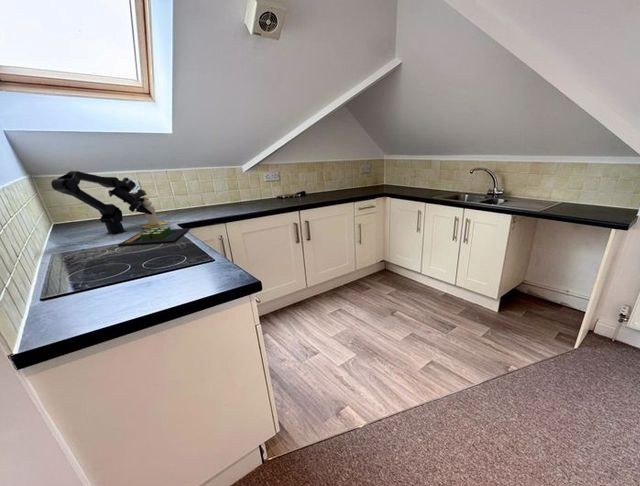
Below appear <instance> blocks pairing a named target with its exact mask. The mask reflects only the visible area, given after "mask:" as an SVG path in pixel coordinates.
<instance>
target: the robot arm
mask: <svg viewBox="0 0 640 486" xmlns="http://www.w3.org/2000/svg"><path fill="white" fill-rule="evenodd" d="M81 181H82V182H87V183H93V184H98V185H100V186H101V187H104V188H107V189H109V190H108V195H109V197H110V198H111V197H113V196H115V197H116V198H118V199H120V200H121V201H122V202H123V203H124V204H125V203H126V204H128V205H129V207H128V210H129V211H131V212H132V213H134V212H136V213H142V214H145V213H146V214H150V215H152V212H151V211H149V210H148V209H147V208H145V207H144V206H145V205H144V204H143V201H144V200H143V197H145V196H147V194H148V193H147V192H146V190H144V189H141V188H139V189H138V190H137V192H136V193H133V192H131V191H133V190H134V189H135V188H136V187H137V184H136V182H135V181H133V180H132V179H130V178H128V177H123V179H122V180H120V178H118V177H116V176H101V175H96V174H92V173H87V172H84V171H83V172H82V171H79V170H70V171H68V172H67V173H65V174H63V175H61V176H59V177H57V178H54V179H53V180H52V181H51V183H50V185H51V188H52V189H53V190H54V191H56V192H58V193H61V194H64V195H68V196H72V197H74V198H75V199H77V200H79V201H81V202H83V203H84V204H86V205H87V206H90V207H92V208H93V209H95V210H97V211H98V212H99V213H100V215H101V216H100V219H99V221H100V222H101V223H103V224H104V225H105V227H106V231H107V232H106V234H107V235H108V234H109V235H116V234H121V233H125V232H126V229H124V228H125V227H124V225H123V223H122V222H123V212H122V210H121V209H120V207H118V206H116V205H115V204H113V203H104V202H102V201H101V200H100V199H98V198H95V197H94V196H92V195H91V194H89V193H87V192H85V191H83V190H82V189H81V188H80V186H79V184H80V183H81ZM145 199H146V200H147V198H146V197H145ZM146 214H145V215H146Z"/></svg>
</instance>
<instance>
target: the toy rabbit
mask: <svg viewBox="0 0 640 486" xmlns="http://www.w3.org/2000/svg"><path fill="white" fill-rule="evenodd" d="M142 197H143V200H144V201H143V204H144V205H145V206H144V207H145V208H147V209H148V210H149V211H151V212H152V215H150V214H146V213H144V215H145V217H146V220H147V223H148V224H147V225H156V224H159V222H160V221H159V219H158V216H157V213H156V209H155V205H153V204H152V201H151V200H150V198H149V197H148V196H146V197H145V196H142ZM145 198H146V199H147V200H146V199H145Z"/></svg>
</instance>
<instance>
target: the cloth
mask: <svg viewBox="0 0 640 486" xmlns="http://www.w3.org/2000/svg"><path fill="white" fill-rule="evenodd" d="M158 222H159V224H156V225H149V224H145V225H142V226H140V228H142V229H151V228H158V227H160V226H165V225H168V224H169V223H168V222H162V221H158Z"/></svg>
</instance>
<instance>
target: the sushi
mask: <svg viewBox="0 0 640 486" xmlns="http://www.w3.org/2000/svg"><path fill="white" fill-rule="evenodd" d="M190 230H191V228H189V227H188V228H173V229H172V228H171V226H162V227H160V226H158V227H152V228H148V230H141V231H140V232H138V233H136V234H135V235H132V236H131V237H129V238H127V239H126V240H124V241H122V242H121V243H119V244H117V245H118V247H132V246H143V245H157V244H169V243H175V242H177V241H178V240H179V239H181V237H183V236H184V235H185V234H187V233H188V232H190Z"/></svg>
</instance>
